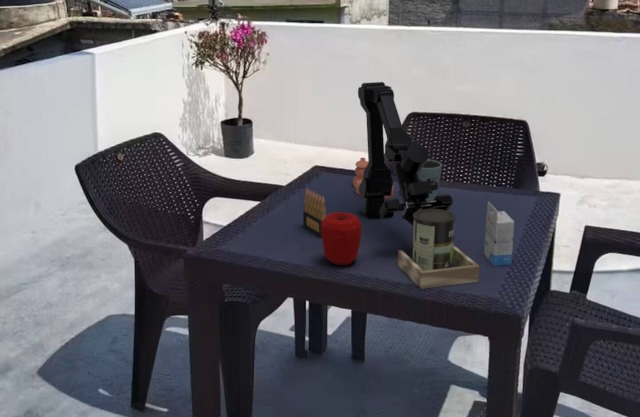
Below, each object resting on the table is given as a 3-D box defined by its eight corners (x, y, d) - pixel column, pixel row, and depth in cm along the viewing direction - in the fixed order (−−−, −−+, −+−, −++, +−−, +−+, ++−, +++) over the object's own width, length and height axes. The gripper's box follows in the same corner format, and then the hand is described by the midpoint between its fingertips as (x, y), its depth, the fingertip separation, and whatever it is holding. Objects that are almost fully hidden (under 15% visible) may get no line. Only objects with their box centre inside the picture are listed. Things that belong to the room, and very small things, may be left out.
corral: (397, 265, 200) (398, 250, 199) (452, 258, 204) (452, 244, 203) (421, 289, 187) (421, 273, 185) (478, 281, 191) (479, 266, 189)
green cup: (418, 192, 258) (419, 157, 254) (446, 198, 252) (447, 162, 248) (402, 200, 250) (403, 164, 246) (431, 206, 244) (432, 169, 240)
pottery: (393, 197, 253) (394, 168, 250) (366, 201, 251) (366, 171, 247) (372, 182, 270) (372, 154, 266) (346, 185, 267) (346, 157, 263)
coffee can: (452, 261, 203) (455, 209, 198) (452, 277, 193) (455, 223, 189) (412, 258, 204) (414, 207, 200) (410, 274, 195) (411, 220, 190)
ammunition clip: (327, 237, 220) (327, 196, 216) (321, 238, 219) (321, 197, 215) (308, 226, 228) (308, 186, 224) (303, 227, 227) (302, 187, 224)
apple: (314, 257, 205) (314, 208, 201) (350, 252, 209) (351, 203, 205) (330, 272, 196) (330, 221, 192) (367, 266, 200) (368, 216, 195)
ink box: (512, 265, 200) (516, 210, 195) (493, 266, 199) (496, 211, 195) (501, 253, 208) (505, 199, 203) (483, 253, 207) (487, 200, 203)
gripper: (383, 170, 198) (398, 225, 192) (452, 164, 203) (468, 218, 197) (372, 191, 208) (386, 244, 201) (438, 185, 213) (453, 237, 206)
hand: (424, 235), depth 201 cm, fingers closed, pressing on coffee can
